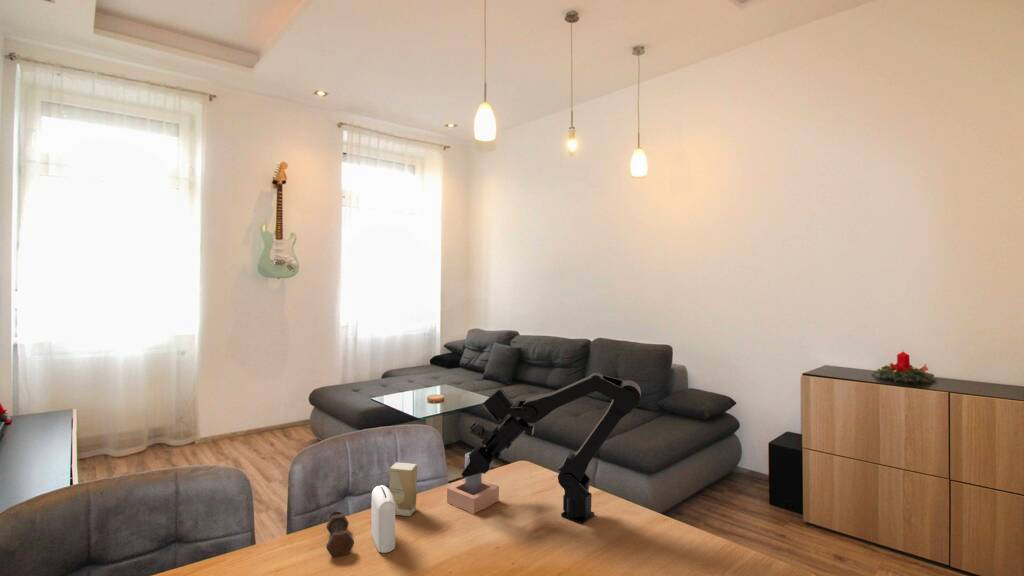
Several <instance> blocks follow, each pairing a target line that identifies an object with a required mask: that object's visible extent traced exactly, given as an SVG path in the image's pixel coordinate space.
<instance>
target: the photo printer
mask: <svg viewBox="0 0 1024 576" xmlns="http://www.w3.org/2000/svg"><path fill="white" fill-rule="evenodd" d="M371 536H372V539H373V542H374V544H375V547H376V549H377V550H378V552H379V553H382V554H386V553H389V552H392V551H393V550H394V549H395V548H396V515H395V501H394V498H393V495H392V493H391V492H390V490H389V487H387V486H386V485H381V484H380V485H376V486H375V487H374V488H373V489H372V491H371Z"/></svg>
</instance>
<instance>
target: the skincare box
mask: <svg viewBox="0 0 1024 576" xmlns="http://www.w3.org/2000/svg"><path fill="white" fill-rule="evenodd" d="M388 479H389V481H388V482H389V483H388V489H389V490H390V492H391V493H392V495H393V498H394V501H395V516H402V517H404V516H405V517H411V516H412V515H413V514H414V512H415V511H416V510H417V493H418V492H417V490H418V489H417V488H418V487H417V486H418V464H417V463H410V462H399V461H398V462H397V461H396V462H394V463H393V464H392V465H391V466H390V468H389V478H388Z"/></svg>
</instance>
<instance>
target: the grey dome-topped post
mask: <svg viewBox="0 0 1024 576" xmlns="http://www.w3.org/2000/svg"><path fill="white" fill-rule="evenodd" d="M471 452H472V451H469V452H467V453H465V454H464V469H465V468H466V467H467V465H468V464H469V462H470V459H469V454H470V453H471ZM482 475H483V473H480V474H475V475H472V476H468V477H464V480H465V492H466V493H469V494H471V495H475V494H477V493H479V492H482V480H483V477H482Z"/></svg>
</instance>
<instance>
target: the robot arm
mask: <svg viewBox="0 0 1024 576" xmlns="http://www.w3.org/2000/svg"><path fill="white" fill-rule="evenodd" d="M594 392H597V393H599V394H602V395H603V396H605V397H607V398H609V399H611V403H610V405H609V406H608V409H607V410H606V411H605V413H604V414H603V416H602V417H601V418H600V419H599V421H598V423H597V424H596V426H595V427H594V428H593V430H592V431H591V432H590V434H589V435H588V436H587V438H586V439H585V440H584V442H583V443H582V445H581V446H580V447H579V449H577V451H575V452H573V451H572V450H571V449H569V451H568V453H567V455H566V457H565V458H564V459H561V463H560V464H559V467H558V475H557V480H558V484H559V486H560V487H561V488H563V490H564V494H563V496H562V497H563V501H562V502H563V503H562V510H563V512H562V513H560V516H561V517H562V518H566V519H568V520H571V521H574V522H576V523H578V524H581V525H583V524H584V523H586V522H587V521H588V520H590V519H591V518H592V517H593V516H595V512H594V511H592V494H593V493H592V492H589V490H590V487H591V481H592V479H591V478H590V476H588V474H587V473H586V471H587V469H588V467H589V464H590V462H591V461H592V459H594V456H596V454H597V453H598V451H599V450H600V448H601V447H602V446H603V444H604V443H605V441H606V440H607V439H608V437H609V436H610V435H611V433H612V432H613V431H614V429H615V428H616V427H617V425H618V423H619V422H620V421H621V420H622V419H623V418H625V417H626V416H628V415H629V414H630V413H631V412H632V411H633V410H634V409H635V408H636V407H637V406H639V404H640V402H641V395H642V393H641V387H640V385H639V384H638V383H637V382H635V381H634V380H630V379H629V380H622V379H619V378H616V377H613V376H608V375H605V374H602V373H600V372H593V373H591V374H590V375H589V376H586V377H584V378H582V379H580V380H578V381H575V382H573V383H571V384H568V385H566V386H563V387H562V388H559V389H557V390H555V391H552V392H549V393H541V394H537V395H534V396H530V397H528V398H527V399H524V400H523V399H522V400H516V401H514V402H513V400H512V399H511V398H510V397H509V396H508V395H507V394H506V391H505V390H504V389H503V388H499V389H497V390H496V392H495V393H492V395H490V396H489V397H488V398H487V399H485V400H484V402H483V403H482V404H481V405H482V407H483V408H484V409H485V410H486V411H487V412H488V413H489V414H490V415H491V417H492V418H493V419H494V420H495V421H503V420H504V419H505V418H506V417H507V416H508V415H510V416H508V418H506V419H505V420H504V421H503V422H502V423H500V424H498V425H497V426H494V425H492V424H491V423H489V422H488V421H486V420H484V419H482V418H481V417H477V418H475V419H474V420H473V421H472V424H471V425H470V426H469V431H468V433H470V434H471V435H473V436H474V437H476V438H479V439H482V440H481V444H482V445H483V446H479V445H478V446H476V447H475V448H474V449H472V451H470V452H471V453H470V454H469V459H470V462H469V464H468V465H467V467H466V468H465V467H464V470H463V471H462V473H461V476H462V477H463V478H465V477H468V476H472V475H475V474H480V473H482V474H484V475H485V474H486V473H487V472H488V471H489V470H490V469H491V468H492V467H493V466H494V458H496V459H499V457H500V456H501V455H502V454H503V453H504V452H505V451H506V450H508V449H509V448H510V447H511V446H512V445H513V444H514V443H515V442H516V441H517V440H518V439H519V438H520V437H521V436H522V435H523V434H524V433H526V434H527V435H528V436H529V437H530V438H531V437H533V434H534V433H535V424H536V423H538V422H539V421H541V420H542V419H544V418H545V417H546V416H548V415H549V414H550V413H551V412H553V411H555V410H557V409H558V408H560V407H562V406H565V405H566V404H570V403H572V402H573V401H576V400H579V399H580V398H583V397H585V396H587V395H590V394H592V393H594Z"/></svg>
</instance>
